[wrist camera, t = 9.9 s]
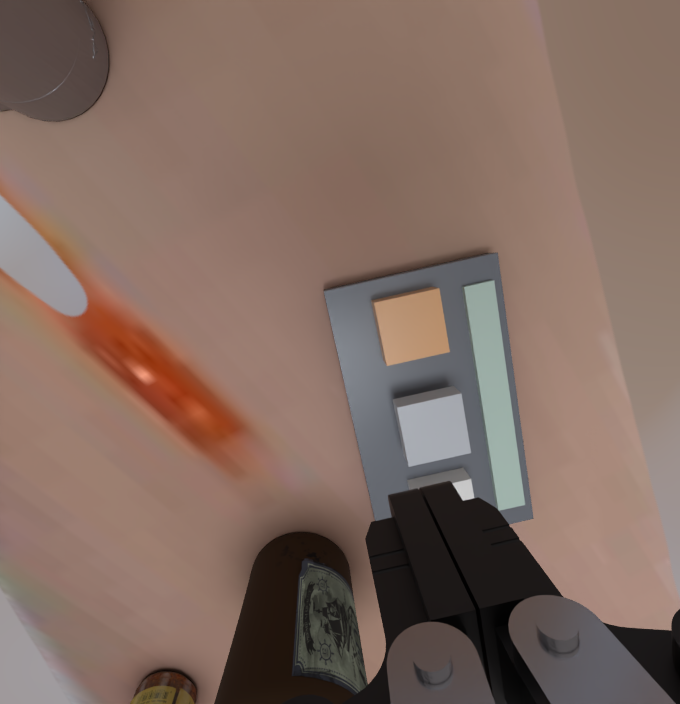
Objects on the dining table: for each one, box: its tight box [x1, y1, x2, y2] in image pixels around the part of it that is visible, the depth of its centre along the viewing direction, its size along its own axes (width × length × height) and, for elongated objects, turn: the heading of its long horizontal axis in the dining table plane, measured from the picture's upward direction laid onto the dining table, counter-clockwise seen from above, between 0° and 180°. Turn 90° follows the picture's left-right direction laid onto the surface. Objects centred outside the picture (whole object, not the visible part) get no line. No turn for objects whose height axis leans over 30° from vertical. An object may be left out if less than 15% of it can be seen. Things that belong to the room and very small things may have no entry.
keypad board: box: [324, 253, 533, 524], centre depth 37 cm, size 14×24×3 cm, turn 12°
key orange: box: [371, 287, 450, 366], centre depth 34 cm, size 5×5×2 cm
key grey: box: [393, 386, 471, 467], centre depth 34 cm, size 5×5×2 cm
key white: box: [407, 468, 474, 501], centre depth 37 cm, size 5×5×2 cm
